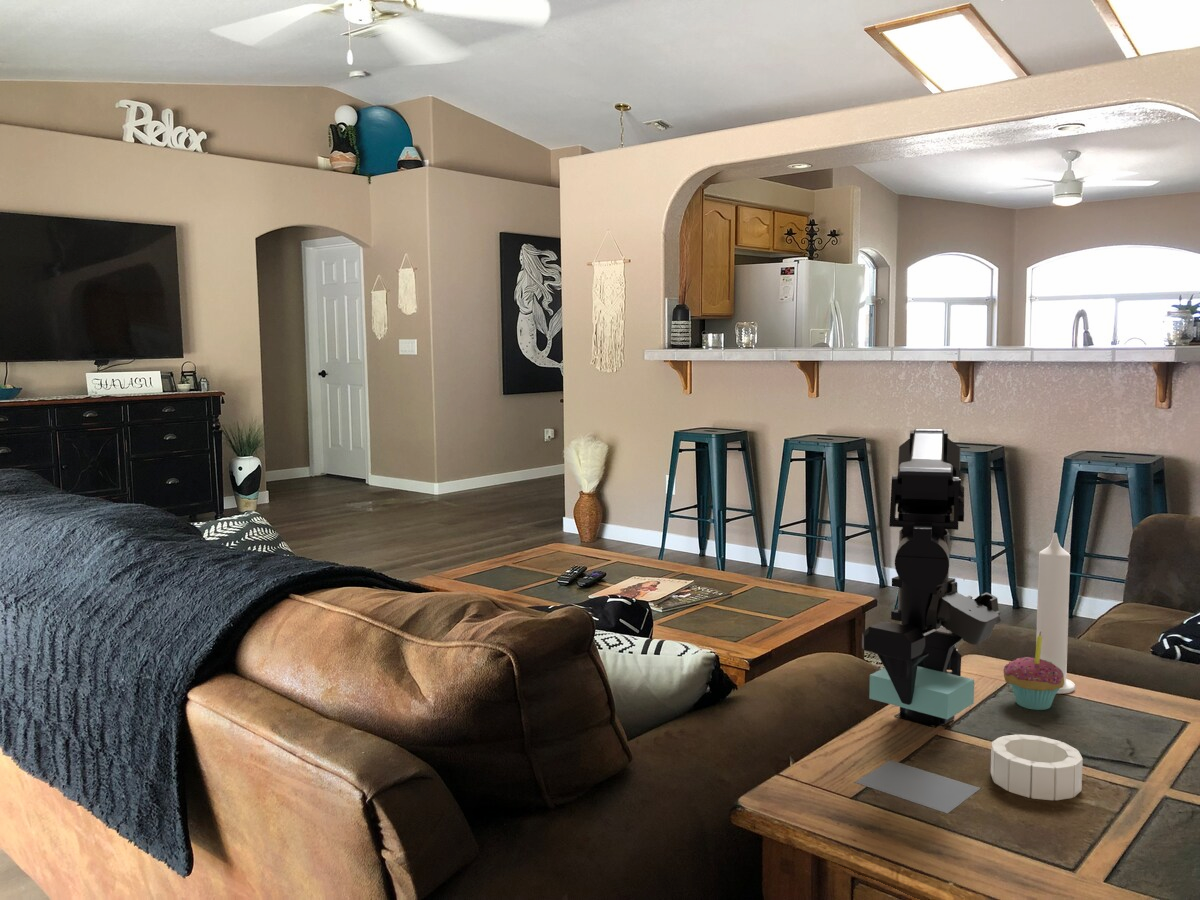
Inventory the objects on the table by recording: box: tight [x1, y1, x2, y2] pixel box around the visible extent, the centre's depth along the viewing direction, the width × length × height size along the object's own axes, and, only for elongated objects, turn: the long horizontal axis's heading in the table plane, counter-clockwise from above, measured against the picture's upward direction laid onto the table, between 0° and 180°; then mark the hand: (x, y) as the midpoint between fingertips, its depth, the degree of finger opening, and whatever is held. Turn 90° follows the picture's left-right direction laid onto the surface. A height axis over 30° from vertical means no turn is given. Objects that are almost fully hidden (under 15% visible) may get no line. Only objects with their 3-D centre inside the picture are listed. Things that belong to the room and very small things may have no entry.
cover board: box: [869, 666, 975, 719], centre depth 117 cm, size 10×7×3 cm
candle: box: [1035, 532, 1076, 694], centre depth 152 cm, size 7×7×25 cm
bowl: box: [990, 733, 1084, 801], centre depth 118 cm, size 10×10×4 cm
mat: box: [854, 759, 982, 815], centre depth 118 cm, size 12×9×1 cm
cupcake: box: [1003, 631, 1064, 711], centre depth 145 cm, size 9×8×12 cm
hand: (921, 695), depth 117 cm, fingers closed on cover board, 7 cm apart
